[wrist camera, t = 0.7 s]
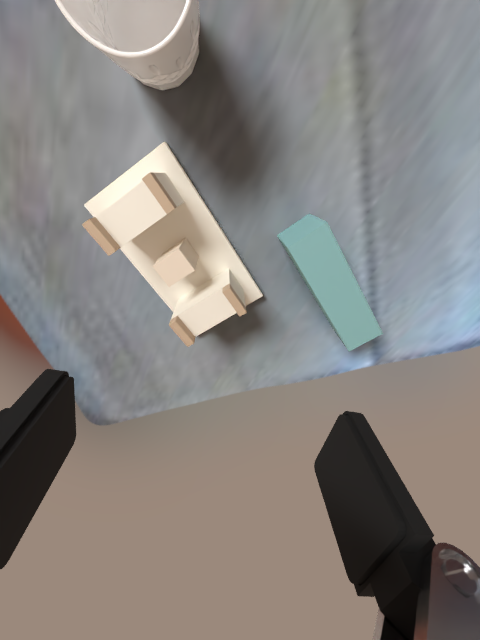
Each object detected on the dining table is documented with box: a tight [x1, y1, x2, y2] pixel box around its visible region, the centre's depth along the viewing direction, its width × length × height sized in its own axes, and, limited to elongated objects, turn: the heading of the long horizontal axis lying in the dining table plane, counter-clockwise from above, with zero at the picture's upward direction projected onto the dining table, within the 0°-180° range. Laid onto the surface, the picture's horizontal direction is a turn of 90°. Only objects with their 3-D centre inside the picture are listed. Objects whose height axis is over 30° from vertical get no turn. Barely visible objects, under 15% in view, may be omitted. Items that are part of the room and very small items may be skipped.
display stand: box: [82, 142, 263, 347], centre depth 28 cm, size 10×18×7 cm, turn 32°
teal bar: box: [277, 214, 383, 352], centre depth 31 cm, size 4×14×6 cm, turn 34°
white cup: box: [55, 0, 200, 90], centre depth 19 cm, size 8×8×10 cm
